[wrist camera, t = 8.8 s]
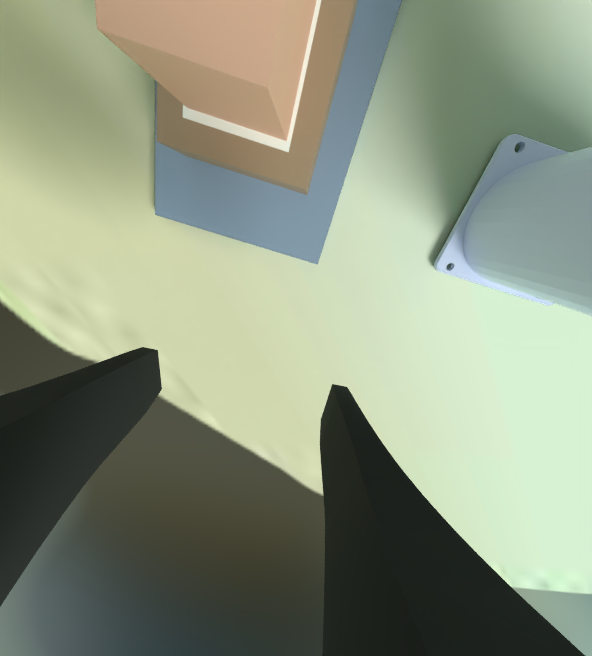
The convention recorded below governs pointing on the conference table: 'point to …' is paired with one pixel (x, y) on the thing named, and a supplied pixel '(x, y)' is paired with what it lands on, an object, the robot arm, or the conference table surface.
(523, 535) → the conference table surface
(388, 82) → the conference table surface
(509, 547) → the conference table surface
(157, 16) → the terracotta cube
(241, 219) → the plate
